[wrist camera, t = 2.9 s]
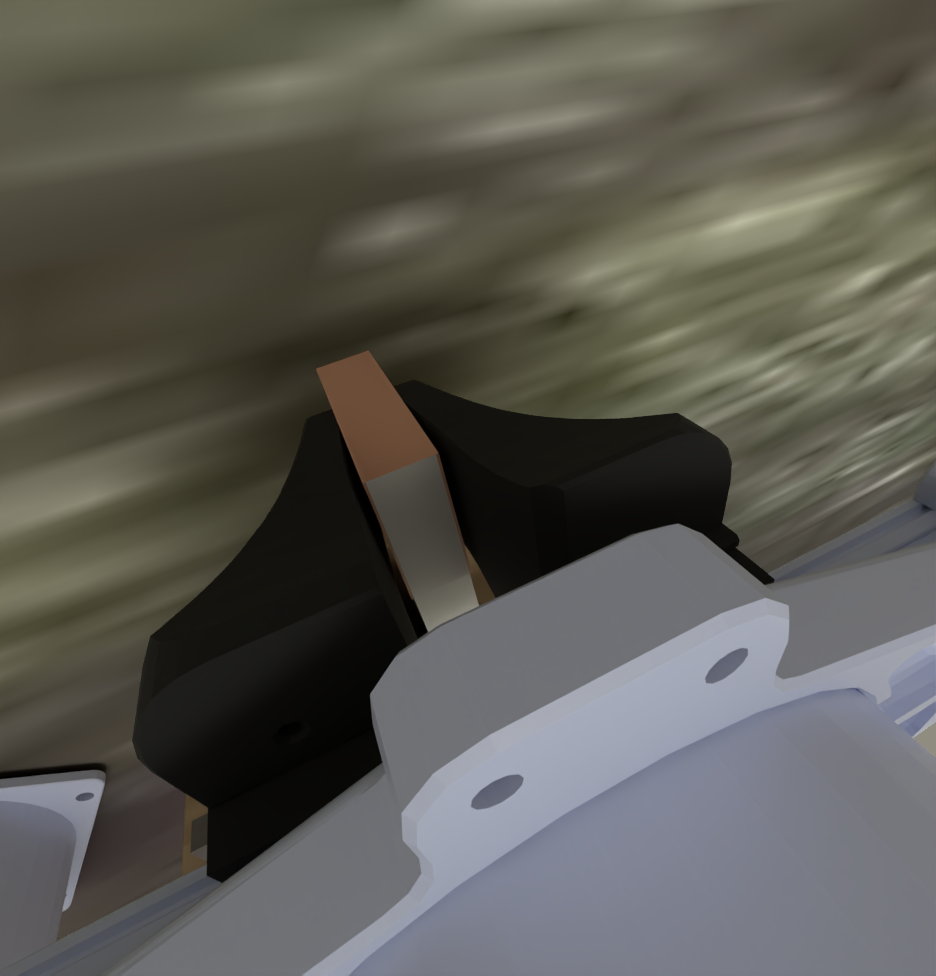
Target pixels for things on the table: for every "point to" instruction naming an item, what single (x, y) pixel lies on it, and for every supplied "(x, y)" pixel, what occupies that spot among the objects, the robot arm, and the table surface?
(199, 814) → the ticket box
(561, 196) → the table surface
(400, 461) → the ticket
